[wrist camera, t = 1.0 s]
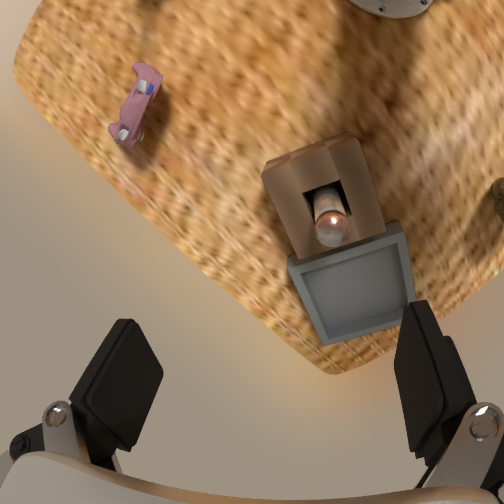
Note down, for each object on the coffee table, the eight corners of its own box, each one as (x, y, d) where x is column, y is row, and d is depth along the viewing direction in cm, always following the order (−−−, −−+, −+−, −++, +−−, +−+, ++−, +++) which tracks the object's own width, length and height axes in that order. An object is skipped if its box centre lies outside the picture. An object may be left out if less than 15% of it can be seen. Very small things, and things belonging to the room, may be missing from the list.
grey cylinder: (330, 169, 33) (344, 210, 23) (339, 192, 34) (355, 241, 24) (307, 178, 34) (310, 222, 24) (316, 199, 35) (322, 252, 25)
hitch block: (348, 131, 31) (358, 140, 26) (374, 208, 35) (386, 231, 30) (266, 161, 34) (260, 176, 29) (299, 234, 38) (298, 259, 33)
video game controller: (139, 137, 36) (136, 160, 31) (107, 128, 33) (98, 149, 29) (170, 69, 31) (171, 78, 26) (136, 57, 28) (130, 65, 24)
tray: (397, 220, 35) (404, 231, 32) (413, 305, 41) (418, 318, 39) (288, 256, 40) (287, 268, 37) (322, 332, 46) (323, 346, 44)
